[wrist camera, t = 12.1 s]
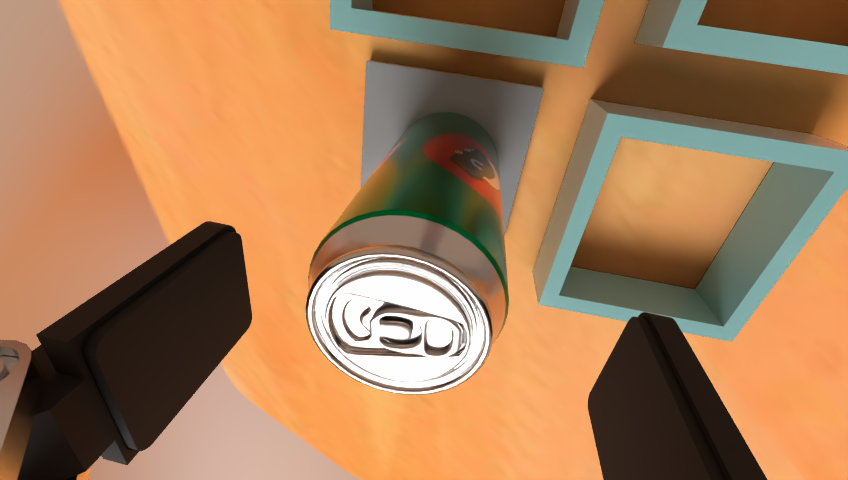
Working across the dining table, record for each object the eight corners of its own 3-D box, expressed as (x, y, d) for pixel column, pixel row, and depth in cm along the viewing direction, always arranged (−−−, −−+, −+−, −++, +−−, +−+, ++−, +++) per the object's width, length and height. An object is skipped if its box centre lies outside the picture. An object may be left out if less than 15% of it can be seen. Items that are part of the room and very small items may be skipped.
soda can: (396, 105, 18) (271, 221, 8) (505, 113, 17) (530, 249, 7) (396, 203, 20) (302, 390, 10) (491, 213, 20) (494, 419, 10)
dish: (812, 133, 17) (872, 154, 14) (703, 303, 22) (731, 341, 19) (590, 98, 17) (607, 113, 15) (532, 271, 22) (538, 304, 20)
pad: (542, 86, 17) (544, 89, 17) (501, 238, 21) (502, 244, 21) (369, 59, 18) (365, 61, 17) (362, 212, 22) (358, 218, 21)
